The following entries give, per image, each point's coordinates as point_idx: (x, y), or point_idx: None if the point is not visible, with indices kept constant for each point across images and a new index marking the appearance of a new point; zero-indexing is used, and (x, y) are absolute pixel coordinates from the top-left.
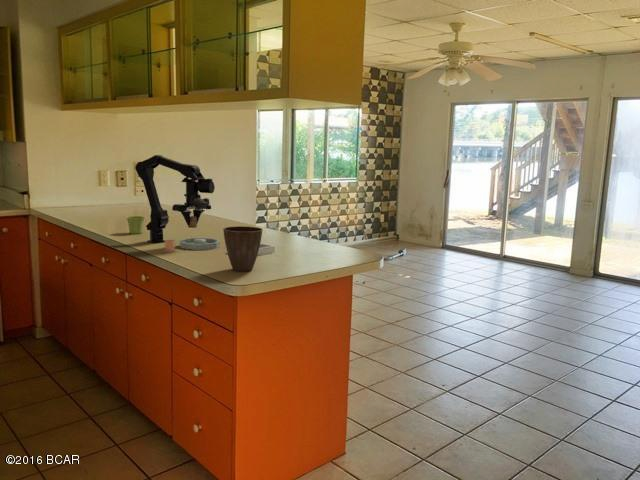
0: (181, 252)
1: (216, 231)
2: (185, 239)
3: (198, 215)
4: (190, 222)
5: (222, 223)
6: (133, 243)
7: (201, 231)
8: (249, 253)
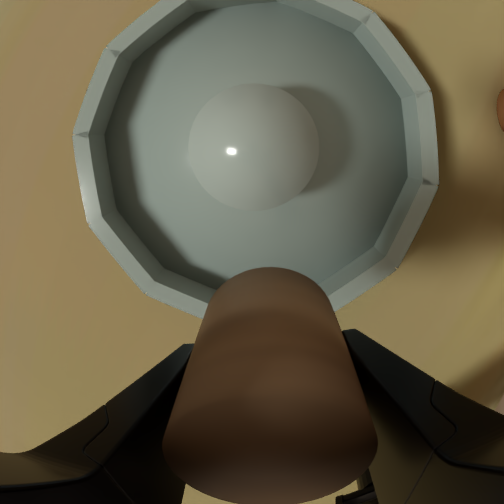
0: (478, 44)
1: (23, 447)
2: None
3: (105, 445)
4: (344, 345)
5: None
6: None
7: None
8: None
